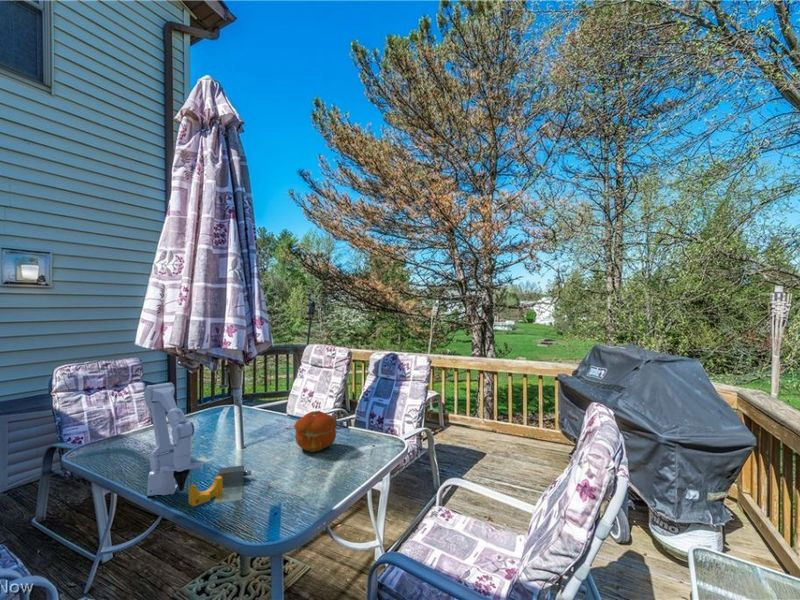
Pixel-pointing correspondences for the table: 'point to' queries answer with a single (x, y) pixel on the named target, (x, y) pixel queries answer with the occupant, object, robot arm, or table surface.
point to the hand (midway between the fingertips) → (181, 489)
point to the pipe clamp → (205, 492)
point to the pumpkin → (315, 431)
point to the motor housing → (231, 483)
